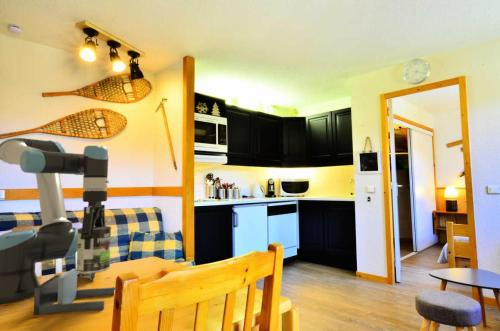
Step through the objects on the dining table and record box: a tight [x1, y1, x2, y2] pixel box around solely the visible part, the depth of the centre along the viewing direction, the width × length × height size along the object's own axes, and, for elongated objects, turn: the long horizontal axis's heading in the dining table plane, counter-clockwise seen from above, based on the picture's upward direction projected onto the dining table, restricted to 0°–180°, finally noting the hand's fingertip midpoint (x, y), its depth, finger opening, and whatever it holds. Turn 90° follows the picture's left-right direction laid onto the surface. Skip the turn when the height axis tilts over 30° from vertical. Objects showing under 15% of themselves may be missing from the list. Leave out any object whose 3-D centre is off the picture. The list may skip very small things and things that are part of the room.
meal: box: [77, 273, 98, 283], centre depth 128 cm, size 15×4×13 cm, turn 52°
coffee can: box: [76, 225, 112, 274], centre depth 101 cm, size 10×10×14 cm
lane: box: [33, 274, 116, 316], centre depth 100 cm, size 20×14×8 cm
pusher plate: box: [57, 268, 78, 304], centre depth 99 cm, size 2×11×10 cm, turn 10°
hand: (93, 255), depth 101 cm, fingers closed on coffee can, 10 cm apart
